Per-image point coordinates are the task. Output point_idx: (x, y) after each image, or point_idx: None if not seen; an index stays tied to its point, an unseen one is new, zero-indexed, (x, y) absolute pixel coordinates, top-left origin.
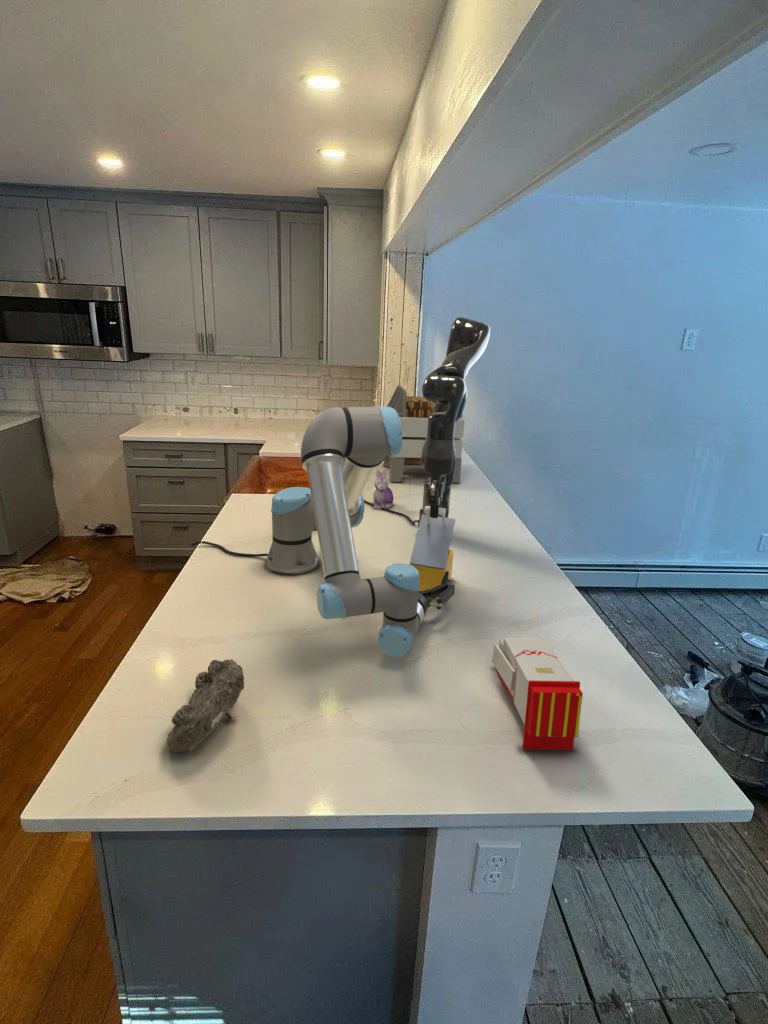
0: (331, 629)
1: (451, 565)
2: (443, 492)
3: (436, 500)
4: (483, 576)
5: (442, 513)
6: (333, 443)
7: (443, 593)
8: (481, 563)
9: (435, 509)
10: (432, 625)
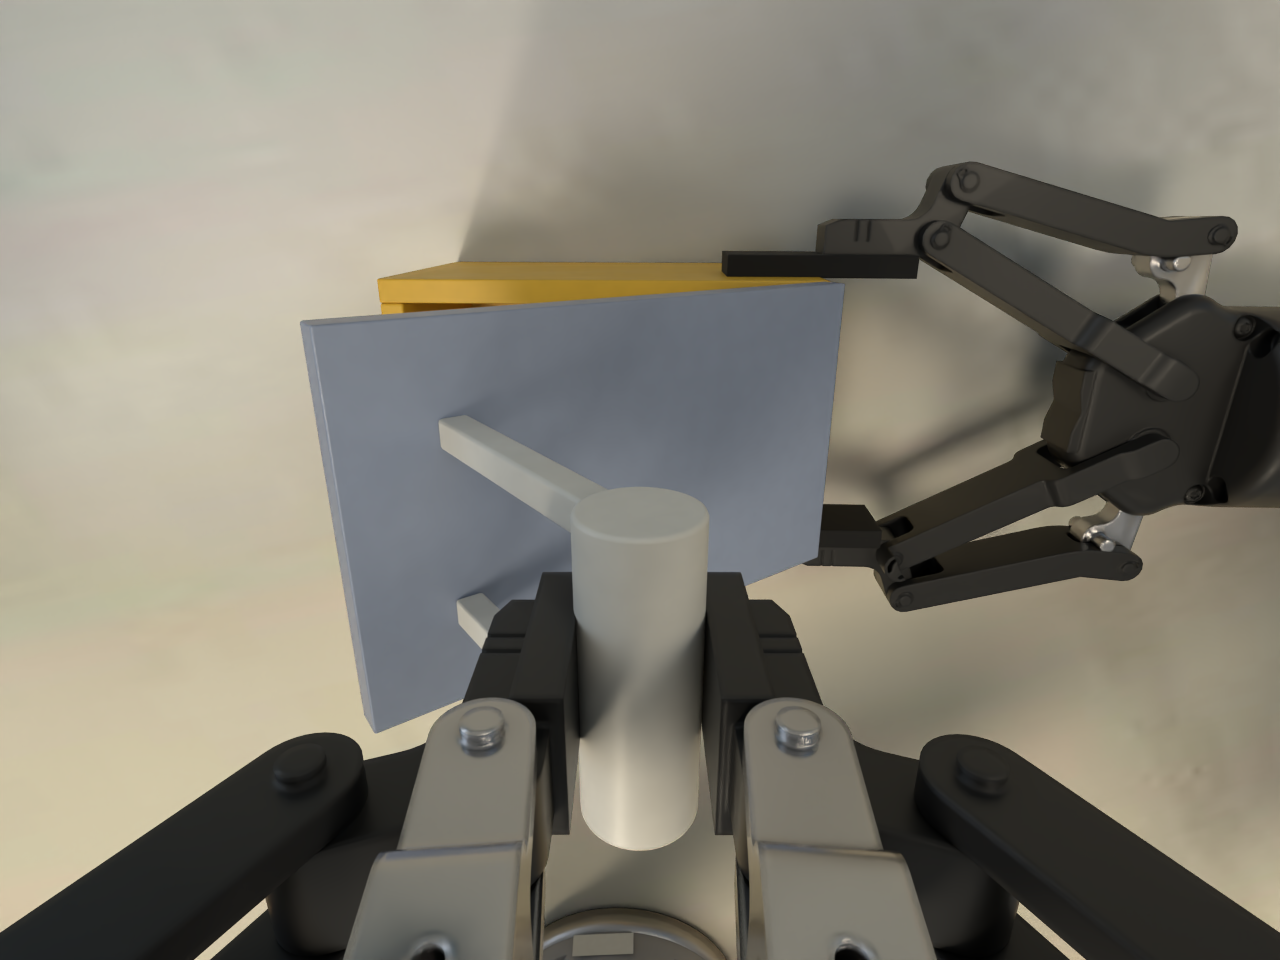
0: (1171, 701)
1: (470, 270)
2: (517, 863)
3: (1185, 894)
4: (307, 37)
5: (708, 539)
6: None
7: (1115, 228)
8: (103, 84)
9: (809, 695)
10: (1068, 265)
